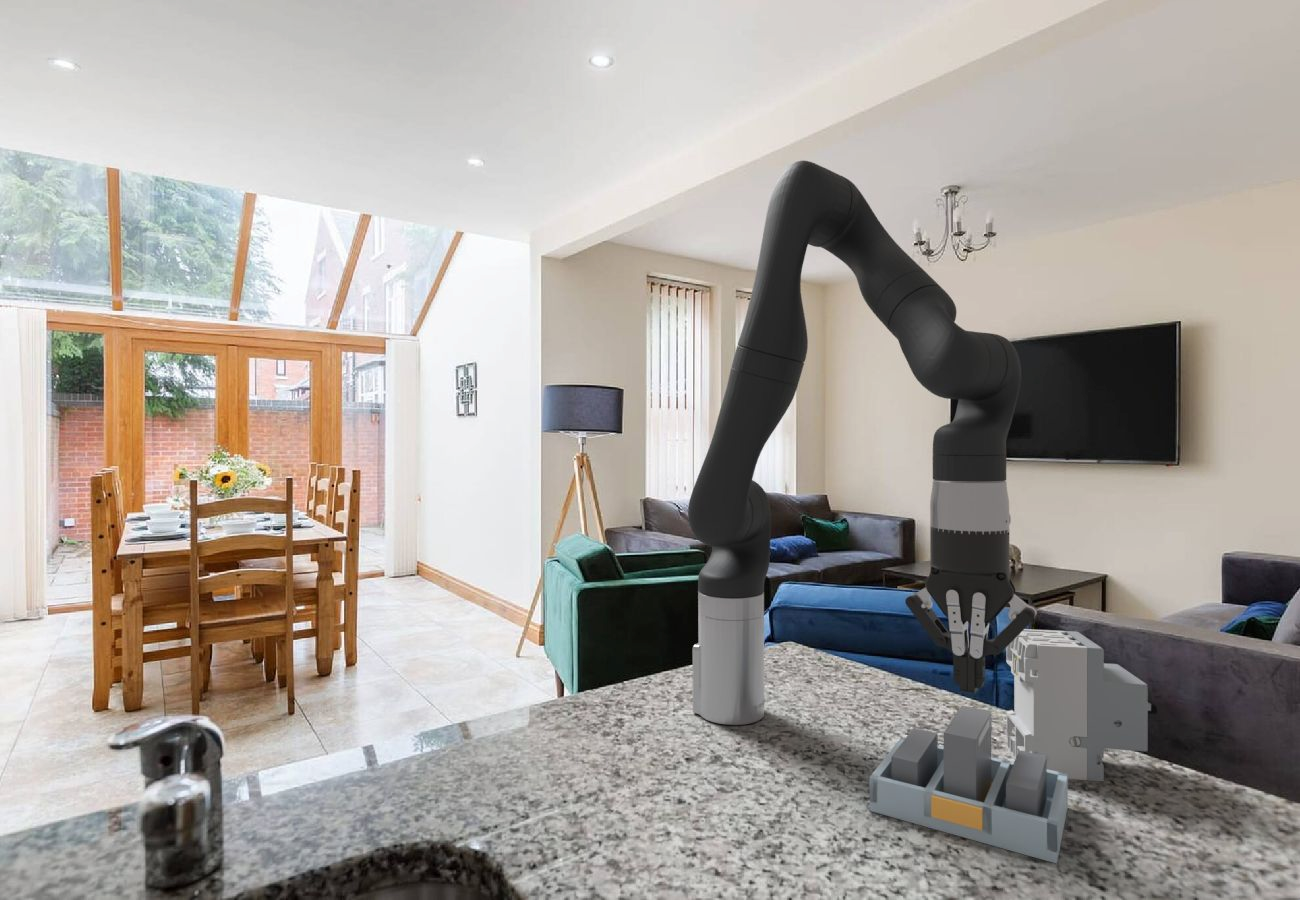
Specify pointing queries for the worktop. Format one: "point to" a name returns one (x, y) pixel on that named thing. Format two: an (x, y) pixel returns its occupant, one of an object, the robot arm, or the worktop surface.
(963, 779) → the rectangular block
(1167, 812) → the worktop surface
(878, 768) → the rack
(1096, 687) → the circuit breaker
